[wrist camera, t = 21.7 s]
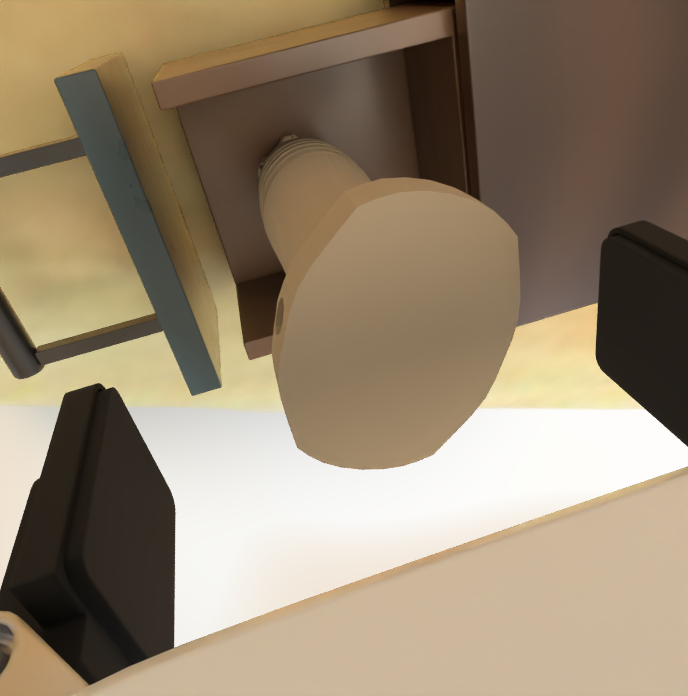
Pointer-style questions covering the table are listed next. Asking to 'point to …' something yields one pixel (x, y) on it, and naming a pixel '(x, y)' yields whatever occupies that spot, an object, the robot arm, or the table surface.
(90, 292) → the table surface
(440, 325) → the handle
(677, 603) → the robot arm
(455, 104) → the drawer
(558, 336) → the table surface
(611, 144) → the cabinet
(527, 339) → the table surface
